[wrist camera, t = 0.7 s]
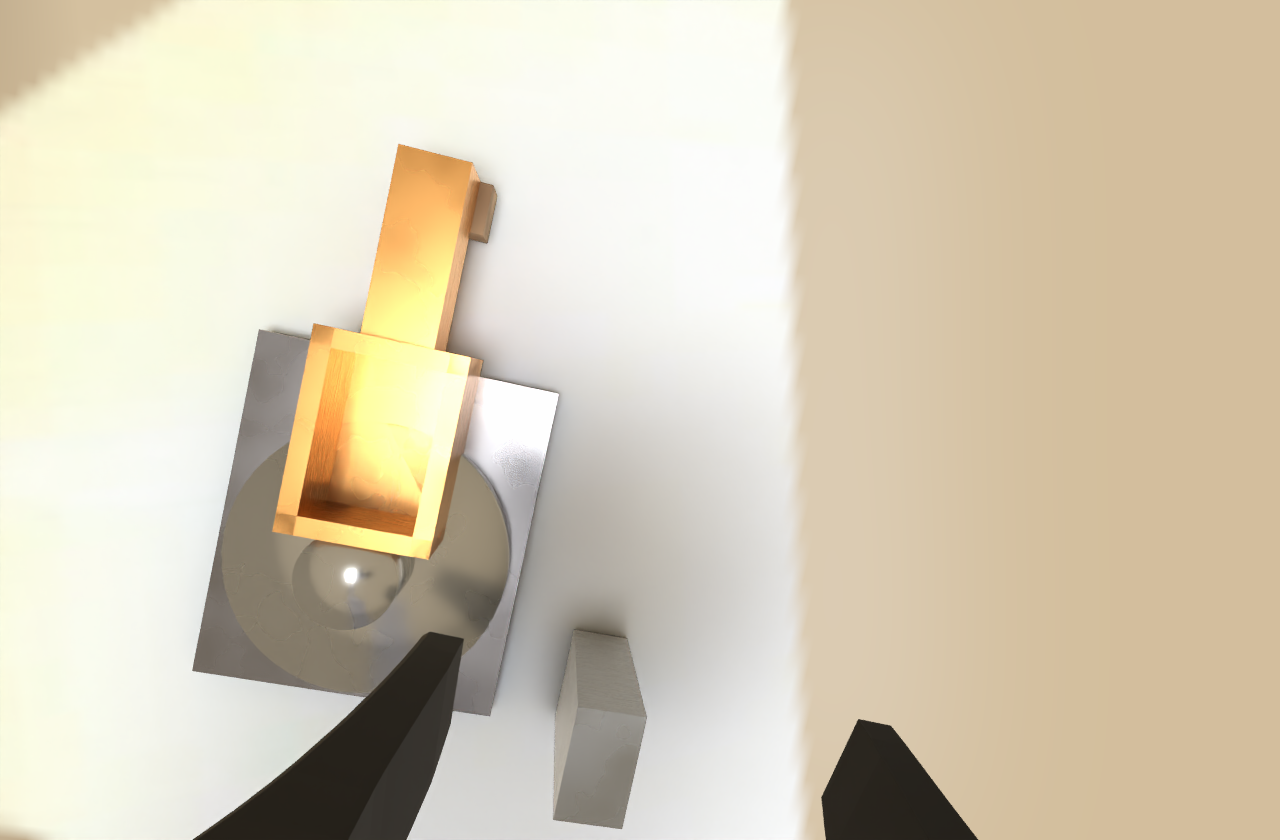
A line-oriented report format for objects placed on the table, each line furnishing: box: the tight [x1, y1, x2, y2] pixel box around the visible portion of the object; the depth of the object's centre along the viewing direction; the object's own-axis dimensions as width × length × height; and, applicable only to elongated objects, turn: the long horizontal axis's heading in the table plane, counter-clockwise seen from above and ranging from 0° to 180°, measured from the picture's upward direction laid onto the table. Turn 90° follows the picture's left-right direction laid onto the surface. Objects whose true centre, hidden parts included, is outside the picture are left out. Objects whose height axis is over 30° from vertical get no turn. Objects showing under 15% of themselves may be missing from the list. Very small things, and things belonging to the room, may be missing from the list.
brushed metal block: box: [553, 629, 647, 829], centre depth 26 cm, size 4×2×7 cm, turn 168°
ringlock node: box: [192, 144, 559, 716], centre depth 26 cm, size 22×12×5 cm, turn 168°
